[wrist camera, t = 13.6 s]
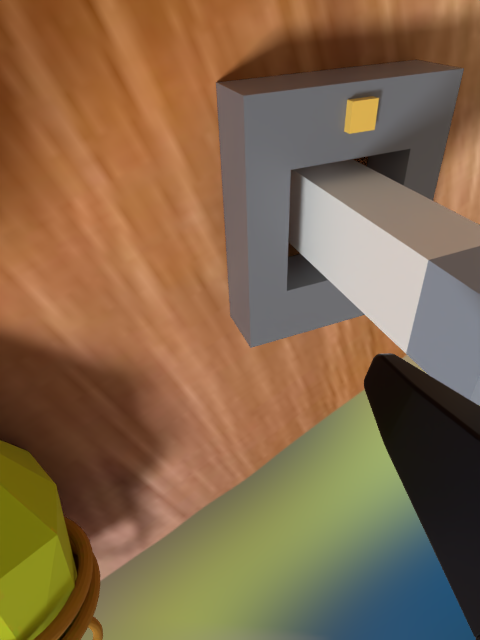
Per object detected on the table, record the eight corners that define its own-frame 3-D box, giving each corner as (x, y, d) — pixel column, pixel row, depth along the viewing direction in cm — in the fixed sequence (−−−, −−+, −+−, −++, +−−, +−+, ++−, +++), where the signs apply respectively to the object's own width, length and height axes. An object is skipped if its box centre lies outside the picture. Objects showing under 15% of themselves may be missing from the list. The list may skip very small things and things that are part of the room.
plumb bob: (-223, 391, 19) (-18, 666, 32) (-281, 551, 13) (6, 818, 25) (2, 321, 24) (105, 588, 36) (46, 413, 17) (153, 701, 30)
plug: (286, 240, 24) (466, 410, 14) (287, 166, 22) (504, 311, 12) (338, 228, 25) (540, 381, 15) (345, 155, 23) (591, 282, 13)
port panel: (230, 316, 26) (253, 352, 23) (216, 82, 18) (247, 97, 16) (378, 277, 28) (413, 305, 26) (416, 59, 21) (471, 69, 19)
